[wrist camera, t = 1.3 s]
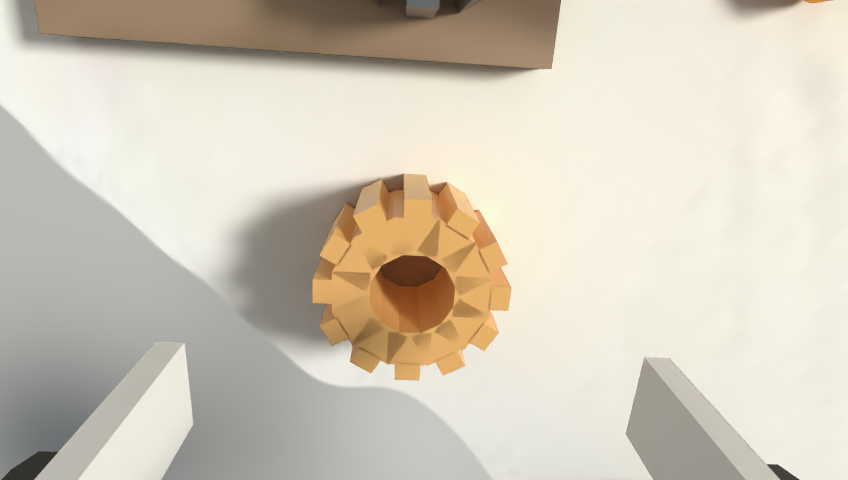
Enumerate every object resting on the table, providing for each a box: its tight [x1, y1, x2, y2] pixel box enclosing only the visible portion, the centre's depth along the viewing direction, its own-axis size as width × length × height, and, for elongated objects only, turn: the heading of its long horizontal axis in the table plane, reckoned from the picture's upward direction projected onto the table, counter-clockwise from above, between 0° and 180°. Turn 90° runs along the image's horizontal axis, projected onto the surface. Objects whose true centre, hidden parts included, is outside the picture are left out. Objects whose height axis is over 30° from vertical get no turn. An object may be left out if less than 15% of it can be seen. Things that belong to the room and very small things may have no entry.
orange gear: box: [312, 174, 511, 380], centre depth 24 cm, size 8×8×5 cm
